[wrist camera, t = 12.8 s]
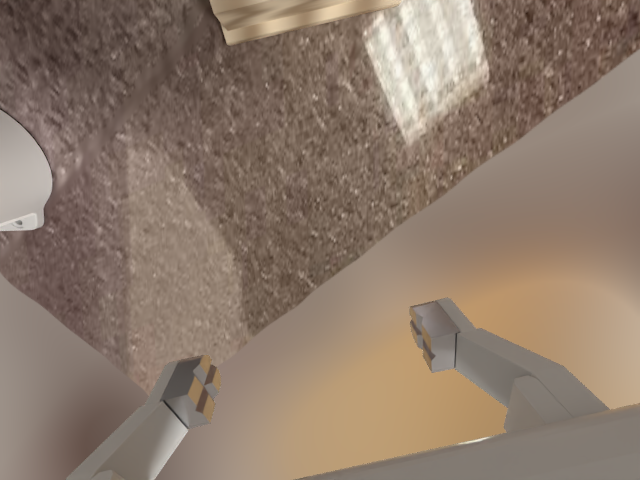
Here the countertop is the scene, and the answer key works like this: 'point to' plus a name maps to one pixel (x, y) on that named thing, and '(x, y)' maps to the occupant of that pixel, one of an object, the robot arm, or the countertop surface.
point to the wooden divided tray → (285, 15)
